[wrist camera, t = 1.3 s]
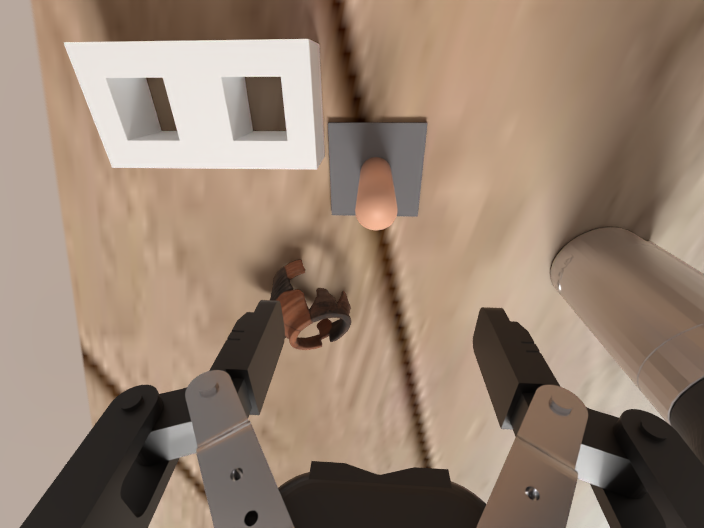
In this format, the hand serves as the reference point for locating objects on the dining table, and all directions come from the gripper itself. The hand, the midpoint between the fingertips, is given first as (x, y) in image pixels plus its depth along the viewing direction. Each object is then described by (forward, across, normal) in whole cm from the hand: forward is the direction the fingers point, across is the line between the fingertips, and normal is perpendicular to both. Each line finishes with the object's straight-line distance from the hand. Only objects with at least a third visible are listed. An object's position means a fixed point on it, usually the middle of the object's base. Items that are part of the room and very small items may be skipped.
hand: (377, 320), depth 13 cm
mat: (+22, 0, 0) cm, 22 cm away
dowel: (+22, 0, 0) cm, 22 cm away
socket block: (+22, +14, -6) cm, 27 cm away
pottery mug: (+22, +9, +15) cm, 28 cm away
